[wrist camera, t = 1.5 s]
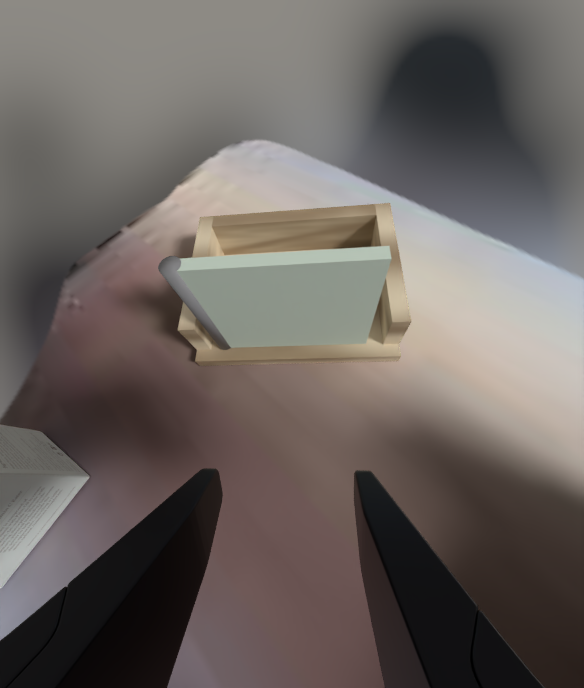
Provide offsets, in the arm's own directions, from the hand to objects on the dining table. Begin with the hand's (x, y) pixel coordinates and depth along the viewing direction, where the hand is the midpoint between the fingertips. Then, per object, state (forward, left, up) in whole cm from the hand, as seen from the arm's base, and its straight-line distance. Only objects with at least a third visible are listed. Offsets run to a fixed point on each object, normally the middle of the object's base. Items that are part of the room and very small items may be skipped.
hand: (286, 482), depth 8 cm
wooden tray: (+9, +12, -14) cm, 20 cm away
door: (+5, +8, -12) cm, 16 cm away
